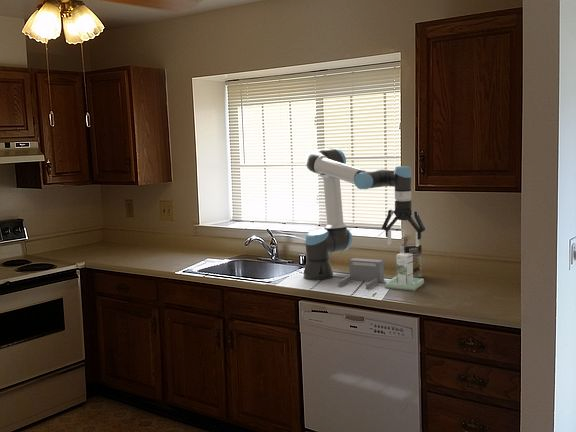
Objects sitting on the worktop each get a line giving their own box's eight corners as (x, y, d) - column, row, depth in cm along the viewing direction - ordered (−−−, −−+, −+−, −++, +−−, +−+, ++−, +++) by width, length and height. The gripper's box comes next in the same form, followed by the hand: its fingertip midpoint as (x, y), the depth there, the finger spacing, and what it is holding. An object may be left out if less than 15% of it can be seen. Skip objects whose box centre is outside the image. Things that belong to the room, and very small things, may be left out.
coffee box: (405, 279, 298) (404, 246, 295) (399, 276, 304) (399, 244, 301) (422, 277, 300) (421, 245, 298) (416, 274, 306) (415, 242, 304)
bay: (337, 286, 289) (337, 265, 288) (353, 277, 305) (353, 258, 304) (369, 289, 281) (368, 268, 280) (383, 280, 297) (383, 260, 296)
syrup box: (413, 283, 285) (413, 253, 283) (407, 286, 281) (406, 255, 279) (403, 282, 289) (402, 252, 287) (396, 284, 284) (395, 254, 282)
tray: (385, 288, 282) (385, 283, 282) (395, 281, 294) (395, 276, 294) (414, 290, 275) (414, 285, 275) (423, 283, 287) (423, 278, 287)
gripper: (374, 200, 282) (375, 244, 286) (427, 202, 270) (427, 248, 273) (380, 198, 289) (381, 242, 292) (432, 199, 276) (432, 245, 280)
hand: (403, 245), depth 283 cm, fingers open, 13 cm apart
